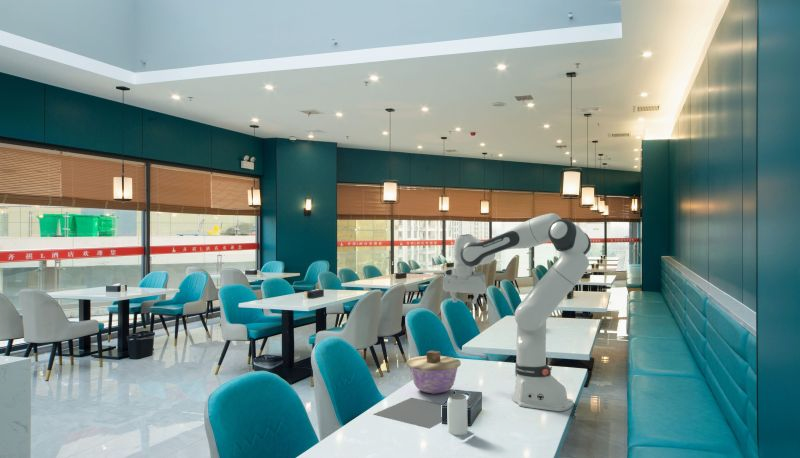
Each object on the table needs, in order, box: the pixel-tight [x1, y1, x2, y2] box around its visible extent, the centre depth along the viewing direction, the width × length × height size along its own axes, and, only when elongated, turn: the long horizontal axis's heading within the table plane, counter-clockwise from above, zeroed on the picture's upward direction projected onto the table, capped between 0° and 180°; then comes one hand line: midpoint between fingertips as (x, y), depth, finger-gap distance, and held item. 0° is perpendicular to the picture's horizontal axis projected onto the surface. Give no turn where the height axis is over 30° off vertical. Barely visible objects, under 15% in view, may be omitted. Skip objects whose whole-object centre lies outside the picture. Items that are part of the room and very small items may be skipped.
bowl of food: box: [409, 367, 459, 394], centre depth 223 cm, size 20×20×12 cm
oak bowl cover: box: [406, 350, 462, 371], centre depth 223 cm, size 22×22×5 cm
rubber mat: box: [372, 397, 443, 429], centre depth 197 cm, size 24×24×1 cm
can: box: [446, 393, 468, 436], centre depth 178 cm, size 6×6×12 cm
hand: (464, 302), depth 240 cm, fingers open, 8 cm apart
